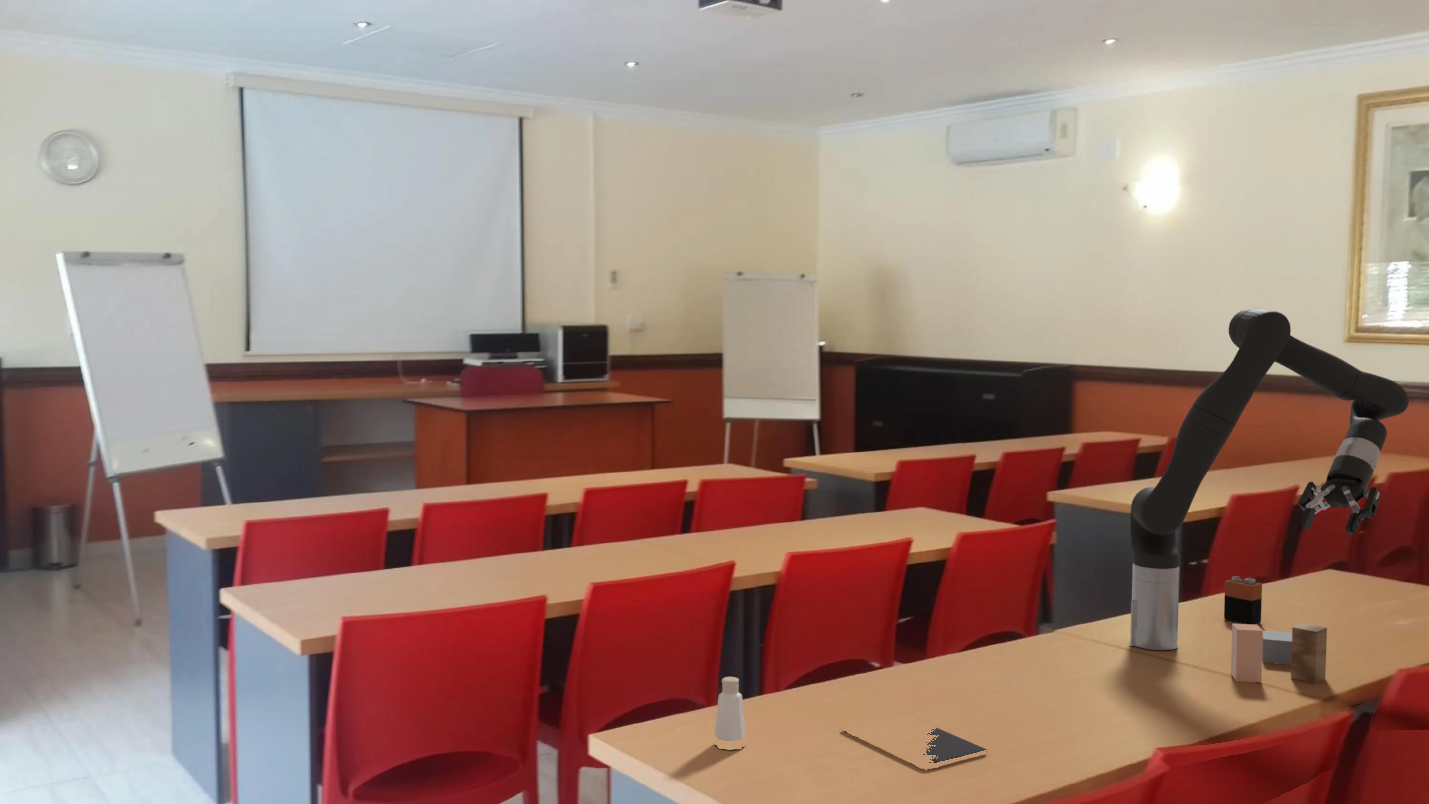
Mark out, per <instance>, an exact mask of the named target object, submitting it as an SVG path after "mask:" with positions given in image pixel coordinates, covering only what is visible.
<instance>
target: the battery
mask: <svg viewBox="0 0 1429 804" xmlns="http://www.w3.org/2000/svg"><path fill="white" fill-rule="evenodd" d="M1262 596H1263V584H1262V583H1261V582H1256V579H1255V578H1250V577H1247V578H1244V579H1242V578H1241V577H1240V576H1232V578H1231V579H1227V580H1225V581H1224V602H1223V603H1224V605H1223V619H1224V620H1226V621H1231V622H1234V623H1237V624H1242V623H1243V624H1253V625H1258V624H1260V623H1262V603H1263V600H1262V599H1263V597H1262Z"/></svg>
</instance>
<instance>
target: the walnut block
mask: <svg viewBox="0 0 1429 804" xmlns="http://www.w3.org/2000/svg"><path fill="white" fill-rule="evenodd" d="M1291 633H1292V659H1291V665H1290V679H1291V680H1295V679H1296V680H1295V681H1299V680H1300V682H1304V681H1305V683H1309V684H1314V685H1316V684H1318V683H1321V682H1322V681H1324V680H1326V672H1327V671H1326V670H1327V669H1326V666H1327V639H1328V635H1327V634H1328V628H1327V627H1325V626H1319V625H1315V624H1314V625H1313V624H1310V623H1304V622H1302V623H1300V624H1297V625H1294V626H1292V631H1291Z"/></svg>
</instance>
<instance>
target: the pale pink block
mask: <svg viewBox="0 0 1429 804" xmlns="http://www.w3.org/2000/svg"><path fill="white" fill-rule="evenodd" d="M1263 631H1264V630H1263V629H1262V628H1261V627H1260V626H1259V625H1258V624H1242V623H1232V624H1231V647H1230V648H1231V653H1230V655H1231V656H1230V675H1231V677H1232V676H1233V677H1232V678H1233V679H1234V681H1235V682H1239V681H1240V683H1243V682H1245V683H1256V682H1261V683H1262V676H1263V675H1262V671H1263V670H1262V669H1263V662H1262V644H1263Z"/></svg>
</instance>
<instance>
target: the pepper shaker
mask: <svg viewBox="0 0 1429 804" xmlns="http://www.w3.org/2000/svg"><path fill="white" fill-rule="evenodd" d="M739 682H740V679H739V678H738V677H734V676H725V677H723V678H722V679H721V683H722V685H721V689H722V690H721V693H719V694H718V700H717V710H716V711H717V712H716V720H715V729H714V737H715V736H716V737H717V738H718V739H719V740H724V741H735V740H742V739H743V738H744V737H745V736H746V737H747V730H746V721H745V711H744V709H745V708H744V702H743V700H744V699H743V695H742V693H740V691H739Z"/></svg>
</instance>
